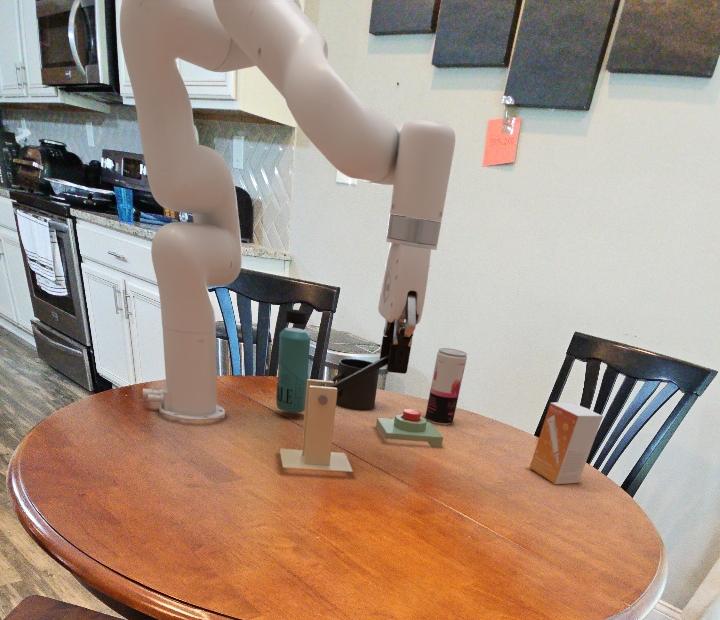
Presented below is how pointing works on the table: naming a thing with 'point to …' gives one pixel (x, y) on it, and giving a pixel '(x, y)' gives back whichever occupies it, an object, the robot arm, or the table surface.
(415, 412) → the button
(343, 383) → the lever
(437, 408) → the beverage can
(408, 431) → the control block
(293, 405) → the beverage bottle
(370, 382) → the mug
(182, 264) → the robot arm
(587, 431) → the small box
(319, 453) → the bracket
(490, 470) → the table surface
